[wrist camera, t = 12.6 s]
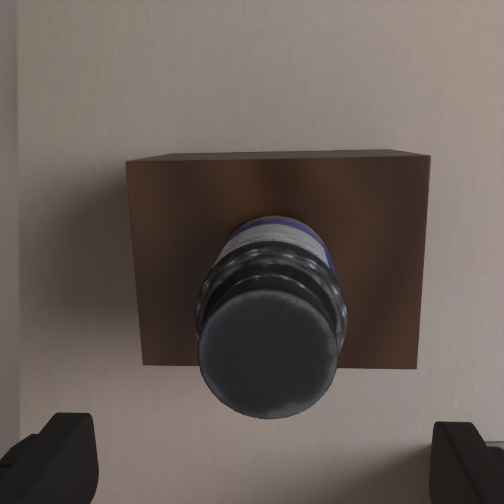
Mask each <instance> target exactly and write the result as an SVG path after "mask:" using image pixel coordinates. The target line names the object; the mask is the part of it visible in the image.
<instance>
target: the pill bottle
mask: <svg viewBox="0 0 504 504" xmlns="http://www.w3.org/2000/svg"><path fill="white" fill-rule="evenodd" d="M194 325H195V332H196V335H197V340H198V349H197V356H198V362H199V367H200V371H201V374H202V376H203V378H204V381H205V383H206V384H207V386H208V387H209V389H210V390H211V391H212V393H213V394H214V395H215V396H216V397H217V398H218V399H219V400H220V401H221V402H222V403H224V404H225V405H227V406H228V407H230V408H231V409H233V410H234V411H236V412H239V413H241V414H243V415H246V416H250V417H254V418H259V419H278V418H284V417H289V416H292V415H295V414H299V413H300V412H302V411H305V410H306V409H308V408H310V407H311V406H312V405H314V404H315V403H316V402H317V401H318V400H319V399H320V398H321V397H322V396H323V395H324V393H325V392H326V391H327V390H328V388H329V386H330V385H331V383H332V381H333V378H334V375H335V373H336V369H337V364H338V355H339V353H340V352H341V349H342V347H343V343H344V342H345V338H346V334H347V328H348V310H347V305H346V300H345V296H344V294H343V291H342V289H341V286H340V283H339V280H338V277H337V275H336V272H335V269H334V266H333V263H332V261H331V258H330V255H329V252H328V250H327V248H326V246H325V244H324V242H323V240H322V238H321V237H320V236H319V235H318V234H317V233H316V232H315V231H314V230H313V229H312V228H311V227H309V226H308V225H306V224H305V223H303V222H301V221H299V220H297V219H294V218H291V217H288V216H284V215H267V216H263V217H259V218H256V219H253V220H250V221H248V222H246V223H244V224H243V225H242V226H241V227H239V228H238V229H237V230H236V231H235V232H234V233H233V234H232V235H231V237H230V238H229V239H228V241H227V242H226V244H225V245H224V247H223V249H222V250H221V251H220V253H219V255H218V257H217V259H216V261H215V262H214V264H213V266H212V268H211V269H210V271H209V273H208V274H207V276H206V277H205V279H204V281H203V283H202V284H201V287H200V290H199V292H198V295H197V300H196V304H195V307H194Z"/></svg>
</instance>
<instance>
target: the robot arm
mask: <svg viewBox="0 0 504 504" xmlns="http://www.w3.org/2000/svg"><path fill="white" fill-rule="evenodd" d="M98 477H99V467H98V458H97V450H96V441H95V433H94V424H93V419H92V416H91V415H90V414H89V413H61V412H58V413H56V414H55V415H54V416H53V417H52V418H51V419H50V420H49V422H48V423H47V424H46V425H45V426H44V428H43V429H42V430H41V431H40V433H39V434H31V435H29V436H28V437H26V438H25V439H23V440H22V441H20V442H19V443H17V444H16V445H14V446H13V447H12V448H10V449H9V451H8V452H7V453H6V454H5V455H4V456H3V458H2V459H1V460H0V504H90V503H91V501H92V499H93V497H94V495H95V492H96V488H97V484H98ZM429 491H430V498H431V503H432V504H504V450H503V449H502V448H501V447H495V446H487V445H486V443H485V442H484V440H483V439H482V437H481V435H480V434H479V432H478V431H477V429H476V428H475V426H474V425H473V424H472V423H471V422H435V424H434V428H433V437H432V449H431V462H430V474H429Z"/></svg>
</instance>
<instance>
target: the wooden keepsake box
mask: <svg viewBox="0 0 504 504" xmlns="http://www.w3.org/2000/svg"><path fill="white" fill-rule="evenodd" d="M430 164H431V156H429V155H423V154H417V153H410V152H404V151H397V150H391V149H382V150H332V151H283V152H233V153H183V154H166V155H161V156H155V157H149V158H143V159H137V160H132V161H126V172H127V184H128V196H129V207H130V219H131V231H132V243H133V254H134V266H135V278H136V290H137V301H138V313H139V325H140V337H141V348H142V360H143V365H163V366H199V362H198V356H197V349H198V340H197V335H196V332H195V325H194V307H195V304H196V300H197V295H198V292H199V290H200V287H201V284H202V283H203V281H204V279H205V277H206V276H207V274H208V273H209V271H210V269H211V268H212V266H213V264H214V262H215V261H216V259H217V257H218V255H219V253H220V251H221V250H222V249H223V247H224V245H225V244H226V242H227V241H228V239H229V238H230V237H231V235H232V234H233V233H234V232H235V231H236V230H237V229H238V228H239V227H241V226H242V225H243V224H244V223H246V222H248V221H250V220H253V219H256V218H259V217H263V216H267V215H284V216H288V217H291V218H294V219H297V220H299V221H301V222H303V223H305V224H306V225H308V226H309V227H311V228H312V229H313V230H314V231H315V232H316V233H317V234H318V235H319V236H320V237H321V238H322V240H323V242H324V244H325V246H326V248H327V250H328V252H329V255H330V258H331V261H332V263H333V266H334V269H335V272H336V275H337V277H338V280H339V283H340V286H341V289H342V291H343V294H344V296H345V300H346V305H347V310H348V328H347V334H346V338H345V342H344V343H343V347H342V349H341V352H340V353H339V355H338V364H337V368H363V369H417V357H418V342H419V327H420V312H421V297H422V282H423V268H424V253H425V238H426V223H427V208H428V193H429V179H430Z"/></svg>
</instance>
